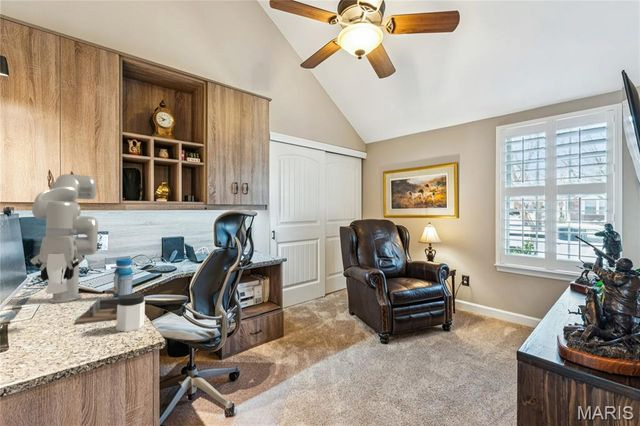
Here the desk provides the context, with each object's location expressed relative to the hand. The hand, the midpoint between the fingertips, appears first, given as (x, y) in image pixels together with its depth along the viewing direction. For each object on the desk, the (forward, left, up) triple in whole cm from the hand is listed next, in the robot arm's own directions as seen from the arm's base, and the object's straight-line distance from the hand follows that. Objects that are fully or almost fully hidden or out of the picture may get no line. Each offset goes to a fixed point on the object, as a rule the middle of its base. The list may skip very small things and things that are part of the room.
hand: (57, 279), depth 109 cm
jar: (+13, +26, -18) cm, 34 cm away
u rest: (-9, +15, -18) cm, 25 cm away
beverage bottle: (-38, +15, -18) cm, 45 cm away
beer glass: (0, 0, -5) cm, 5 cm away
